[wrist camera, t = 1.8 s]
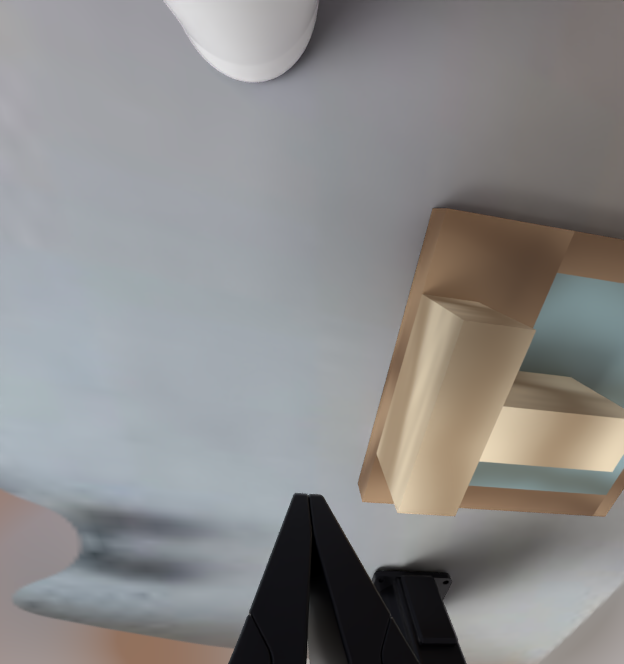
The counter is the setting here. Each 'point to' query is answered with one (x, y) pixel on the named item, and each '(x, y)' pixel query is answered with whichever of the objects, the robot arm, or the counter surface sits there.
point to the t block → (483, 409)
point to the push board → (545, 348)
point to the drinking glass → (248, 34)
